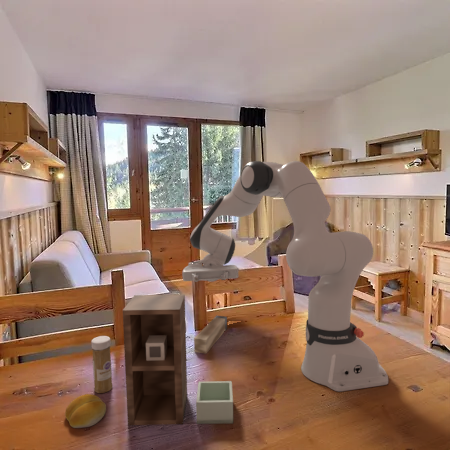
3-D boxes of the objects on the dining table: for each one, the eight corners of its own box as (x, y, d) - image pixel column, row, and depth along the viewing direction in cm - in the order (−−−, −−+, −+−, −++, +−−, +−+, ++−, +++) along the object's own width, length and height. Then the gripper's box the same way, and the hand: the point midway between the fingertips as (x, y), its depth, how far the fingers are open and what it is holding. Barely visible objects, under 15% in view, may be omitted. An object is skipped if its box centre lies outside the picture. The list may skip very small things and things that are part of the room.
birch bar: (227, 328, 126) (226, 316, 125) (206, 353, 107) (205, 340, 106) (216, 327, 127) (216, 315, 126) (194, 351, 108) (194, 338, 108)
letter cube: (167, 351, 80) (166, 335, 80) (164, 360, 76) (163, 343, 76) (150, 351, 80) (149, 335, 80) (146, 360, 76) (145, 343, 76)
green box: (231, 400, 83) (231, 381, 83) (233, 423, 75) (232, 401, 75) (198, 401, 83) (198, 381, 83) (196, 423, 75) (196, 402, 75)
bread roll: (74, 435, 73) (73, 418, 72) (62, 414, 79) (60, 398, 79) (112, 418, 78) (111, 401, 77) (97, 399, 85) (96, 384, 84)
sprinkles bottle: (105, 395, 86) (102, 344, 85) (90, 392, 87) (87, 341, 86) (116, 385, 90) (113, 336, 89) (101, 382, 92) (99, 334, 90)
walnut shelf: (187, 396, 85) (184, 294, 82) (182, 424, 75) (179, 309, 72) (138, 397, 85) (134, 295, 82) (127, 425, 75) (122, 310, 72)
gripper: (238, 275, 132) (240, 285, 118) (185, 278, 132) (181, 289, 118) (238, 259, 131) (239, 267, 118) (184, 262, 132) (179, 271, 118)
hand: (209, 278), depth 118 cm, fingers open, 8 cm apart
